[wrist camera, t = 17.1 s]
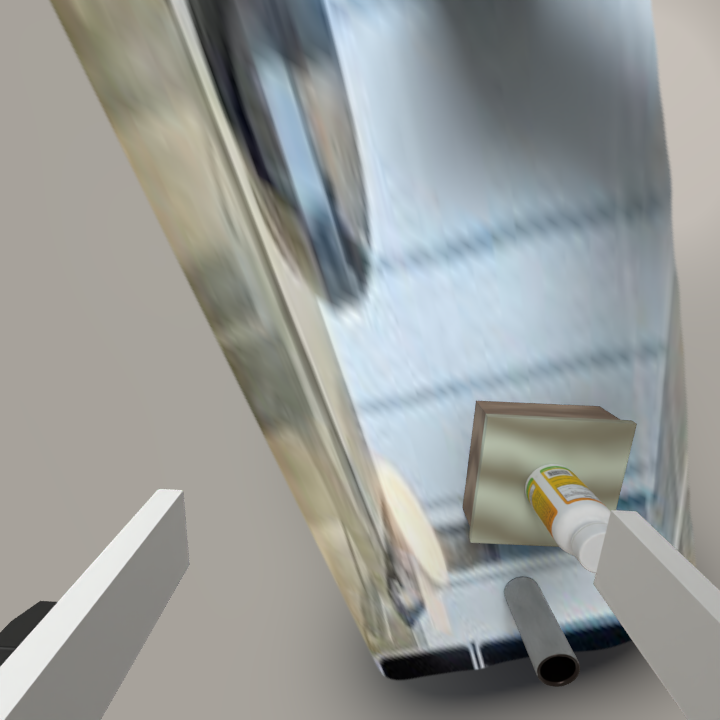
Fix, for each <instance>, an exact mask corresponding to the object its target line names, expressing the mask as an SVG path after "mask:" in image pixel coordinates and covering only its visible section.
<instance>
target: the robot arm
mask: <svg viewBox="0 0 720 720" xmlns="http://www.w3.org/2000/svg"><path fill="white" fill-rule="evenodd" d="M188 566H189V553H188V541H187V530H186V517H185V506H184V493H183V490H168V489H166V490H165V489H158V490H157V491H156V492H155V493H154V495H153V496H152V497H151V498H150V499H149V500H148V501H147V502H146V504H145V505H144V506H143V507H142V508H141V509H140V510H139V511H138V513H137V514H136V515H135V516H134V517H133V518H132V519H131V520H130V522H129V523H128V524H127V525H126V526H125V527H124V528H123V529H122V531H121V532H120V533H119V534H118V535H117V536H116V537H115V538H114V539H113V541H112V542H111V543H110V544H109V545H108V546H107V547H106V548H105V550H104V551H103V552H102V553H101V554H100V555H99V556H98V557H97V559H96V560H95V561H94V562H93V563H92V564H91V565H90V566H89V568H88V569H87V570H86V571H85V572H84V573H83V574H82V575H81V577H80V578H79V579H78V580H77V581H76V582H75V583H74V584H73V586H72V587H71V588H70V589H69V590H68V591H67V592H66V594H65V595H64V596H63V597H62V598H61V599H60V600H59V601H58V602H48V601H40V602H38V603H37V604H35V605H34V606H33V607H31V608H30V609H28V610H27V611H25V612H24V613H23V614H21V615H20V616H18V617H17V618H15V619H14V620H13V621H11V622H10V623H9V624H8V625H7V626H6V627H5V628H4V629H3V630H2V632H0V720H101V719H102V717H103V715H104V713H105V712H106V710H107V708H108V706H109V705H110V703H111V701H112V699H113V698H114V696H115V694H116V692H117V691H118V689H119V687H120V685H121V684H122V682H123V680H124V678H125V677H126V675H127V673H128V671H129V670H130V668H131V666H132V664H133V663H134V661H135V659H136V657H137V656H138V654H139V652H140V650H141V649H142V647H143V645H144V643H145V642H146V640H147V638H148V636H149V634H150V633H151V631H152V629H153V628H154V626H155V624H156V622H157V621H158V619H159V617H160V615H161V614H162V612H163V610H164V608H165V607H166V605H167V603H168V601H169V600H170V598H171V596H172V594H173V593H174V591H175V589H176V587H177V586H178V584H179V582H180V580H181V579H182V577H183V575H184V573H185V571H186V570H187V568H188ZM593 584H594V586H595V587H596V588H597V590H598V591H599V593H600V594H601V596H602V597H603V599H604V600H605V601H606V603H607V604H608V606H609V607H610V609H611V610H612V612H613V613H614V614H615V616H616V617H617V619H618V620H619V622H620V623H621V625H622V626H623V628H624V629H625V630H626V632H627V633H628V635H629V636H630V638H631V639H632V641H633V642H634V643H635V645H636V646H637V648H638V649H639V651H640V652H641V654H642V655H643V656H644V658H645V659H646V661H647V662H648V664H649V665H650V666H651V668H652V669H653V671H654V672H655V674H656V675H657V677H658V678H659V680H660V681H661V682H662V684H663V685H664V687H665V688H666V690H667V691H668V693H669V694H670V695H671V697H672V698H673V700H674V701H675V703H676V704H677V706H678V707H679V708H680V710H681V711H682V713H683V714H684V716H685V717H686V718H687V720H720V590H719V589H717V588H716V587H715V586H714V585H713V584H712V583H711V582H710V581H709V580H708V579H707V578H706V577H704V575H703V574H702V573H701V572H699V571H698V570H697V569H696V568H695V567H694V566H693V565H692V564H691V563H690V562H689V561H688V560H687V559H686V558H685V557H684V556H683V555H682V554H681V553H679V552H678V551H677V550H676V549H675V548H674V547H673V546H672V545H671V544H670V543H669V542H668V541H667V540H666V539H665V538H664V537H663V536H662V535H661V534H659V533H658V532H657V531H656V530H655V529H654V528H653V527H652V526H651V525H650V524H649V523H648V522H647V521H646V520H645V519H644V518H643V517H642V516H640V515H639V514H638V513H637V512H636V511H616V510H611V513H610V517H609V521H608V525H607V529H606V534H605V538H604V542H603V546H602V550H601V554H600V558H599V563H598V567H597V571H596V575H595V579H594V583H593Z"/></svg>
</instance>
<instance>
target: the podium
mask: <svg viewBox="0 0 720 720" xmlns="http://www.w3.org/2000/svg"><path fill="white" fill-rule="evenodd" d="M636 425H637V424H636V423H635V422H633V421H631V420H620V419H618V418H617V417H615V416H614V415H612V414H610V413H609V412H607V411H606V410H604V409H603V408H601V407H600V406H579V405H557V404H535V403H513V402H491V401H476V407H475V415H474V423H473V430H472V438H471V446H470V454H469V462H468V470H467V478H466V486H465V493H464V501H463V510H464V512H465V515H466V518H467V520H468V523H469V525H470V534H469V539H470V542H471V543H491V544H513V545H534V546H555V547H559V545H558V544H557V543H556V541H555V540H554V539H553V537H552V536H551V534H550V533H549V531H548V530H547V528H546V526H545V525H544V523H543V522H542V520H541V519H540V517H539V516H538V514H537V513H536V511H535V510H534V508H533V507H532V505H531V504H530V502H529V501H528V499H527V497H526V494H525V485H526V482H527V479H528V477H529V476H530V475H531V474H532V472H533V471H535V470H536V469H537V468H539V467H541V466H544V465H548V464H558V465H562V466H565V467H567V468H568V469H570V470H571V471H572V472H573V473H574V474H575V475H576V476H577V477H578V478H579V479H580V480H581V481H582V482H583V483H584V484H585V485H586V486H587V487H588V488H589V489H590V490H591V492H592V493H593V494H594V495H595V496H596V497H597V498H598V499H599V500H600V501H601V502H602V503H603V504H604V505H605V506H606V507H607V508H608V509H609V510H610V512H611V510H616V507H617V503H618V499H619V495H620V491H621V487H622V482H623V478H624V474H625V470H626V466H627V462H628V458H629V454H630V450H631V446H632V441H633V437H634V433H635V429H636Z"/></svg>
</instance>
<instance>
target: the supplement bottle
mask: <svg viewBox="0 0 720 720" xmlns="http://www.w3.org/2000/svg"><path fill="white" fill-rule="evenodd" d="M525 494H526V497H527V499H528V501H529V502H530V504H531V505H532V507H533V508H534V510H535V511H536V513H537V514H538V516H539V517H540V519H541V520H542V522H543V523H544V525H545V526H546V528H547V530H548V531H549V533H550V534H551V536H552V537H553V539H554V540H555V541H556V543H557V544H558V545H559V547H560V548H561V549H563V550H564V551H565V552H567V553H569V554H571V555H574V556H575V557H576V558H577V560H578V561H579V562H580V564H581V565H582V566H583V567H584V568H585V569H586V570H588V571H590V572H593V573H596V571H597V567H598V563H599V558H600V554H601V550H602V546H603V542H604V538H605V534H606V529H607V525H608V521H609V517H610V513H611V512H610V510H609V509H608V508H607V507H606V506H605V505H604V504H603V503H602V502H601V501H600V500H599V499H598V498H597V497H596V496H595V495H594V494H593V493H592V492H591V490H590V489H589V488H588V487H587V486H586V485H585V484H584V483H583V482H582V481H581V480H580V479H579V478H578V477H577V476H576V475H575V474H574V473H573V472H572V471H571V470H570V469H568V468H567V467H565V466H562V465H558V464H548V465H544V466H541V467H539V468H537V469H536V470H535V471H533V472H532V474H531V475H530V476H529V477H528V479H527V482H526V485H525Z"/></svg>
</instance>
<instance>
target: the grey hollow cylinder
mask: <svg viewBox="0 0 720 720" xmlns="http://www.w3.org/2000/svg"><path fill="white" fill-rule="evenodd" d="M504 594H505V597H506V600H507V603H508V605H509V608H510V610H511V613H512V615H513V618H514V620H515V622H516V625H517V627H518V630H519V632H520V635H521V637H522V640H523V642H524V645H525V647H526V649H527V652H528V654H529V657H530V659H531V662H532V664H533V667H534V669H535V671H536V674H537V676H538V678H539V679H540V681H542V682H543V683H544V684H546V685H549V686H555V687H558V686H564V685H567V684H569V683H571V682H572V681H574V680H575V679H576V678H577V676H578V674H579V672H580V665H579V662H578V661H577V658H576V656H575V654H574V653H573V651H572V649H571V647H570V645H569V643H568V641H567V639H566V637H565V635H564V633H563V631H562V630H561V628H560V626H559V624H558V622H557V620H556V618H555V616H554V614H553V612H552V610H551V609H550V607H549V605H548V603H547V601H546V599H545V597H544V595H543V593H542V591H541V589H540V588H539V586H538V584H537V583H536V582H535V581H534V580H533V579H531V578H528V577H518V578H515V579H513V580H511V581H510V582H509V583H508V584H507V585H506V587H505V590H504Z"/></svg>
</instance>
